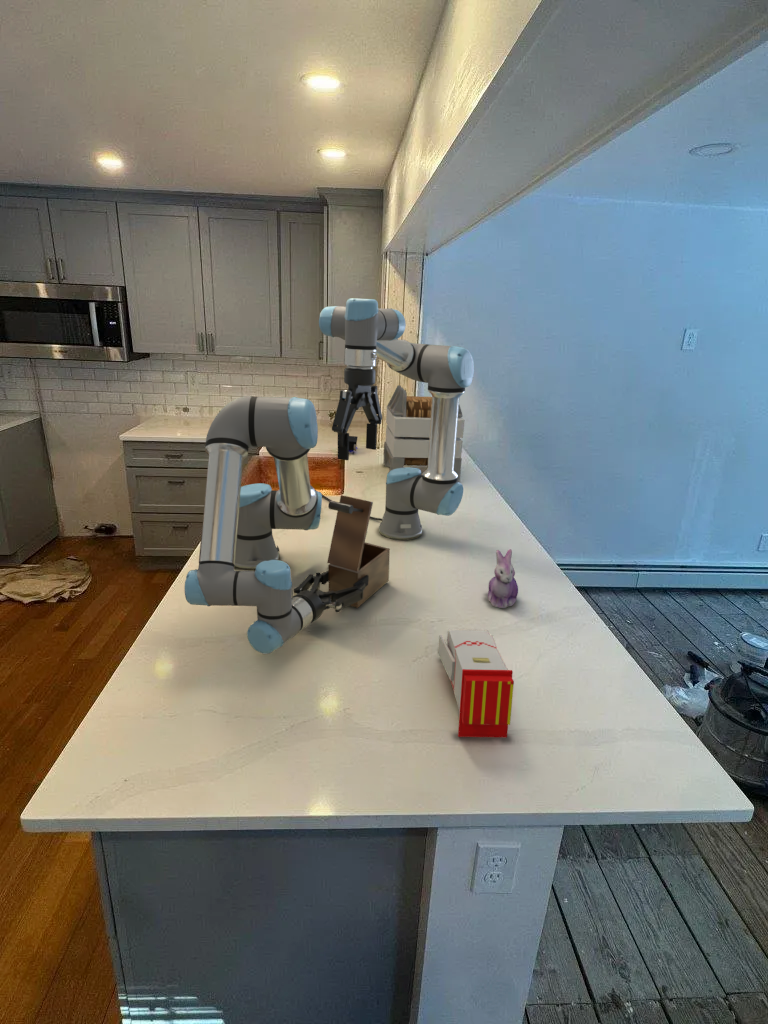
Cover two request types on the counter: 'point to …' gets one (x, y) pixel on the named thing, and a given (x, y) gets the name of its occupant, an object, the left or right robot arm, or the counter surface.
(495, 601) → the figurine
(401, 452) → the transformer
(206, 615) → the counter surface
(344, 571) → the chest
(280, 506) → the left robot arm
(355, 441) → the figurine character
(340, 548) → the brown handled panel
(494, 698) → the toy
